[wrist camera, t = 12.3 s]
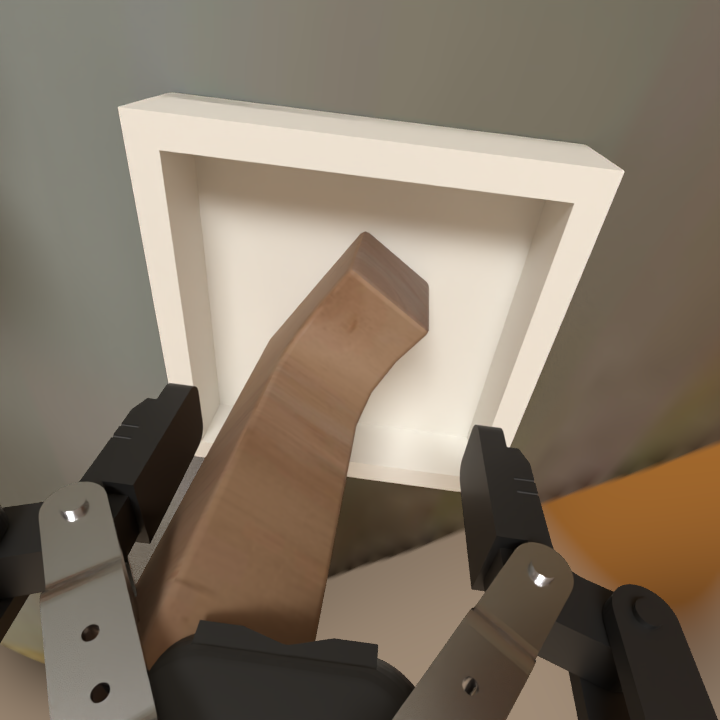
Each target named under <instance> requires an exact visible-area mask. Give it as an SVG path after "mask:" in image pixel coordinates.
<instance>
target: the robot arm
mask: <svg viewBox="0 0 720 720" xmlns="http://www.w3.org/2000/svg"><path fill="white" fill-rule="evenodd" d="M202 434H203V420H202V413H201V406H200V398H199V391H198V388H197V387H196V386H190V385H182V384H175V383H169V384H167V385H166V387H165V388H164V389H163V391H162V392H161V394H160V395H159V397H158V398H157V399H150V398H147V399H146V400H144V401H143V402H142V403H140V404H139V405H137V406H136V407H134V408H133V409H132V410H131V411H130V412H129V414H128V415H127V417H126V418H125V419H124V421H123V422H122V425H121V426H119V428H118V429H117V430H116V432H115V433H114V436H113V438H111V439H110V440H109V441H108V443H107V444H106V446H105V447H104V448H103V450H102V451H101V453H100V454H99V455H98V457H97V458H96V459H95V461H94V462H93V464H92V465H91V466H90V468H89V469H88V471H87V472H86V473H85V475H84V476H83V477H82V479H81V480H80V481H79V482H77V483H73V484H69V485H67V486H64V487H62V488H60V489H59V490H57V491H55V492H54V493H53V494H51V495H50V496H49V497H48V498H47V499H46V500H45V502H40V503H34V504H27V505H19V506H12V507H5V508H2V507H1V505H0V643H1V641H2V639H3V638H4V636H5V634H6V633H7V631H8V629H9V628H10V626H11V624H12V623H13V621H14V619H15V618H16V616H17V614H18V613H19V611H20V610H21V608H22V606H23V605H24V603H25V601H26V600H27V598H28V596H29V595H30V594H33V593H39V592H42V593H41V595H40V612H41V623H42V634H43V644H44V655H45V665H46V677H47V688H48V699H49V709H50V720H506V719H507V717H508V715H509V713H510V711H511V709H512V707H513V705H514V704H515V702H516V700H517V698H518V696H519V694H520V692H521V690H522V689H523V687H524V685H525V683H526V681H527V679H528V677H529V675H530V673H531V671H532V669H533V667H534V665H535V662H536V660H535V659H536V657H537V656H539V657H541V658H543V659H545V660H548V661H550V662H551V663H553V664H555V665H557V666H560V667H561V668H563V669H565V670H567V671H569V675H570V681H571V685H572V691H573V696H574V701H575V706H576V711H577V716H578V720H718V719H717V716H716V714H715V711H714V709H713V706H712V704H711V701H710V699H709V696H708V694H707V691H706V689H705V686H704V684H703V681H702V678H701V676H700V673H699V671H698V668H697V666H696V663H695V661H694V658H693V656H692V654H691V651H690V648H689V646H688V643H687V641H686V638H685V636H684V633H683V631H682V628H681V626H680V623H679V621H678V619H677V617H676V615H675V614H674V612H673V611H672V609H671V608H670V607H669V606H668V604H667V603H665V601H664V600H662V599H661V598H660V597H659V596H657V595H656V594H655V593H653V592H652V591H650V590H648V589H646V588H644V587H641V586H637V585H631V584H628V585H622V586H620V587H618V588H617V589H616V590H615V591H614V592H613V591H611V590H608V589H606V588H604V587H601V586H599V585H597V584H595V583H592V582H590V581H588V580H586V579H584V578H582V577H580V576H578V575H577V574H575V573H574V572H572V571H571V569H570V567H569V565H568V563H567V562H566V561H565V559H564V558H563V557H562V556H561V555H560V554H559V553H557V552H556V551H555V550H554V549H553V546H552V543H551V539H550V536H549V532H548V528H547V525H546V521H545V517H544V514H543V510H542V506H541V503H540V499H539V496H538V495H537V494H538V492H537V488H536V485H535V483H534V477H533V474H532V470H531V466H530V463H529V462H528V461H527V459H526V458H525V457H524V455H523V454H522V453H521V451H520V450H519V449H517V448H510V447H507V445H506V441H505V436H504V432H503V430H502V428H498V427H490V426H483V425H474V426H473V428H472V431H471V434H470V437H469V440H468V443H467V446H466V449H465V452H464V455H463V458H462V461H461V466H460V489H461V498H462V507H463V516H464V525H465V534H466V543H467V552H468V561H469V570H470V579H471V588H472V589H473V590H480V591H485V593H484V595H483V596H482V598H481V599H480V601H479V602H478V603H477V605H476V606H475V607H474V608H472V609H471V610H470V611H469V612H468V613H467V615H466V616H465V618H464V619H463V620H462V622H461V623H460V625H459V626H458V627H457V629H456V630H455V632H454V633H453V634H452V636H451V637H450V639H449V640H448V642H447V643H446V644H445V646H444V647H443V649H442V650H441V651H440V653H439V654H438V656H437V657H436V659H435V660H434V661H433V663H432V664H431V666H430V667H429V669H428V670H427V671H426V673H425V674H424V675H423V677H422V678H421V680H420V681H419V683H418V684H417V685H416V687H414V685H413V684H412V683H411V682H410V681H409V680H408V679H407V678H406V677H405V676H404V675H403V674H402V673H401V672H400V671H398V670H397V669H396V668H395V667H393V666H391V665H390V664H388V663H387V662H385V661H383V660H380V659H378V658H377V653H378V645H377V644H370V643H363V642H356V641H348V640H341V639H327V640H320V641H313V642H306V643H299V644H293V645H285V644H282V643H280V642H278V641H275V640H273V639H271V638H269V637H267V636H264V635H262V634H260V633H258V632H256V631H254V630H251V629H249V628H247V627H245V626H241V625H233V624H226V623H219V622H212V621H205V620H200V621H199V624H198V627H197V630H196V632H195V634H192V635H189V636H187V637H185V638H182V639H180V640H179V641H177V642H176V643H174V644H173V645H171V646H170V647H169V648H168V649H167V650H166V651H165V652H164V653H163V654H162V655H161V656H160V657H159V658H158V659H157V661H156V662H155V663H154V665H153V666H152V667H151V669H150V671H149V669H148V665H147V660H146V656H145V652H144V648H143V644H142V640H141V635H140V631H139V627H138V622H139V621H140V618H139V608H138V603H137V601H136V596H137V588H136V584H135V580H134V576H133V572H132V568H131V564H130V560H129V557H128V554H129V552H130V551H131V549H132V547H133V545H134V543H135V542H141V543H149V544H150V543H151V541H152V539H153V537H154V535H155V533H156V531H157V529H158V527H159V525H160V523H161V521H162V519H163V517H164V515H165V513H166V511H167V509H168V507H169V505H170V503H171V501H172V499H173V497H174V495H175V493H176V491H177V489H178V487H179V485H180V483H181V481H182V479H183V477H184V475H185V473H186V471H187V469H188V467H189V465H190V463H191V461H192V459H193V457H194V455H195V453H196V451H197V449H198V447H199V445H200V442H201V439H202Z"/></svg>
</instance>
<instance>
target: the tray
mask: <svg viewBox="0 0 720 720" xmlns="http://www.w3.org/2000/svg"><path fill="white" fill-rule="evenodd" d="M118 110H119V116H120V121H121V127H122V132H123V138H124V143H125V148H126V154H127V159H128V165H129V170H130V176H131V181H132V187H133V192H134V197H135V203H136V208H137V214H138V219H139V225H140V230H141V236H142V241H143V246H144V252H145V257H146V263H147V268H148V274H149V279H150V284H151V290H152V295H153V301H154V306H155V312H156V317H157V323H158V328H159V333H160V339H161V344H162V350H163V355H164V361H165V366H166V371H167V377H168V382H169V383H175V384H182V385H190V386H196V387H197V388H198V391H199V398H200V406H201V413H202V420H203V434H202V439H201V442H200V445H199V447H198V449H197V451H196V453H195V455H194V456H199V457H206V456H207V454H208V452H209V450H210V448H211V446H212V445H213V443H214V441H215V439H216V437H217V435H218V434H219V432H220V430H221V428H222V426H223V424H224V423H225V421H226V419H227V417H228V415H229V413H230V412H231V410H232V408H233V406H234V404H235V402H236V401H237V399H238V397H239V395H240V393H241V391H242V390H243V388H244V386H245V384H246V382H247V380H248V379H249V377H250V375H251V373H252V371H253V370H254V368H255V366H256V364H257V362H258V360H259V359H260V357H261V355H262V353H263V351H264V349H265V348H266V346H267V344H268V342H269V340H270V339H271V338H272V336H273V335H274V334H275V333H276V332H277V331H278V329H279V328H280V327H281V326H282V325H283V324H284V322H285V321H286V320H287V319H288V318H289V317H290V315H291V314H292V313H293V312H294V311H295V310H296V308H297V307H298V306H299V305H300V304H301V303H302V301H303V300H304V299H305V298H306V297H307V295H308V294H309V293H310V292H311V291H312V290H313V288H314V287H315V286H316V285H317V284H318V283H319V281H320V280H321V279H322V278H323V277H324V276H325V274H326V273H327V272H328V271H329V270H330V269H331V267H332V266H333V265H334V264H335V263H336V262H337V260H338V259H339V258H340V257H341V256H342V255H343V253H344V252H345V251H346V250H347V249H348V248H349V246H350V245H351V244H352V243H353V242H354V241H355V239H356V238H357V237H358V236H359V235H360V234H361V233H363V232H365V231H366V232H368V233H370V234H371V235H372V236H374V237H375V238H376V239H377V240H378V241H379V242H381V243H382V244H383V245H384V246H385V247H386V248H388V249H389V250H390V251H391V252H392V253H393V254H395V255H396V256H397V257H398V258H399V259H400V260H402V261H403V262H404V263H405V264H406V265H407V266H409V267H410V268H411V269H412V270H413V271H414V272H416V273H417V274H418V275H419V276H420V277H421V278H423V279H424V280H425V281H426V282H427V283H428V285H429V331H428V333H427V335H426V336H425V337H424V338H422V339H421V340H420V341H419V342H418V343H417V344H416V345H415V346H414V347H412V348H411V349H410V350H409V351H408V352H407V353H406V354H405V355H404V356H402V357H401V358H400V359H399V360H398V361H397V362H396V363H395V364H394V365H393V367H392V368H391V369H390V370H389V372H388V373H387V374H386V375H385V377H384V378H383V379H382V380H381V382H380V383H379V384H378V385H377V387H376V388H375V389H374V390H373V392H372V393H371V395H370V397H369V399H368V402H367V404H366V406H365V408H364V410H363V413H362V415H361V417H360V419H359V421H358V423H357V426H356V431H355V436H354V442H353V447H352V452H351V457H350V462H349V468H348V473H347V477H354V478H361V479H369V480H376V481H383V482H391V483H398V484H406V485H413V486H420V487H428V488H435V489H443V490H450V491H457V492H461V489H460V466H461V461H462V458H463V455H464V452H465V449H466V446H467V443H468V440H469V437H470V434H471V431H472V428H473V426H474V425H483V426H490V427H498V428H502V430H503V432H504V436H505V441H506V445H507V447H510V445H511V443H512V440H513V438H514V436H515V433H516V431H517V428H518V426H519V424H520V421H521V419H522V416H523V414H524V412H525V409H526V407H527V404H528V402H529V400H530V397H531V395H532V392H533V390H534V388H535V385H536V383H537V380H538V378H539V376H540V373H541V371H542V368H543V366H544V364H545V361H546V359H547V356H548V354H549V352H550V349H551V347H552V344H553V342H554V340H555V337H556V335H557V332H558V330H559V328H560V325H561V323H562V320H563V318H564V316H565V313H566V311H567V308H568V306H569V304H570V301H571V299H572V296H573V294H574V292H575V289H576V287H577V284H578V282H579V280H580V277H581V275H582V272H583V270H584V268H585V265H586V263H587V260H588V258H589V256H590V253H591V251H592V248H593V246H594V244H595V241H596V239H597V236H598V234H599V232H600V229H601V227H602V224H603V222H604V220H605V217H606V215H607V212H608V210H609V208H610V205H611V203H612V200H613V198H614V196H615V193H616V191H617V188H618V186H619V184H620V181H621V179H622V176H623V174H624V172H625V171H624V170H622V169H621V168H619V167H618V166H616V165H615V164H613V163H612V162H610V161H609V160H607V159H606V158H604V157H603V156H602V155H600V154H599V153H597V152H596V151H594V150H593V149H591V148H590V147H588V146H587V145H585V144H577V143H569V142H561V141H553V140H545V139H538V138H530V137H522V136H514V135H506V134H498V133H490V132H482V131H474V130H466V129H458V128H451V127H443V126H435V125H427V124H419V123H411V122H403V121H395V120H387V119H379V118H371V117H363V116H356V115H348V114H340V113H332V112H324V111H316V110H308V109H300V108H292V107H284V106H276V105H269V104H261V103H253V102H245V101H237V100H229V99H221V98H213V97H205V96H197V95H189V94H181V93H174V92H169V93H166V94H162V95H159V96H155V97H151V98H148V99H144V100H141V101H137V102H133V103H130V104H126V105H123V106H119V107H118Z"/></svg>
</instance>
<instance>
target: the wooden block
mask: <svg viewBox="0 0 720 720" xmlns="http://www.w3.org/2000/svg"><path fill="white" fill-rule="evenodd" d="M428 331H429V285H428V283H427V282H426V281H425V280H424V279H423V278H421V277H420V276H419V275H418V274H417V273H416V272H414V271H413V270H412V269H411V268H410V267H409V266H407V265H406V264H405V263H404V262H403V261H402V260H400V259H399V258H398V257H397V256H396V255H395V254H393V253H392V252H391V251H390V250H389V249H388V248H386V247H385V246H384V245H383V244H382V243H381V242H379V241H378V240H377V239H376V238H375V237H374V236H372V235H371V234H370V233H368V232H366V231H365V232H363V233H361V234H360V235H359V236H358V237H357V238H356V239H355V241H354V242H353V243H352V244H351V245H350V246H349V248H348V249H347V250H346V251H345V252H344V253H343V255H342V256H341V257H340V258H339V259H338V260H337V262H336V263H335V264H334V265H333V266H332V267H331V269H330V270H329V271H328V272H327V273H326V274H325V276H324V277H323V278H322V279H321V280H320V281H319V283H318V284H317V285H316V286H315V287H314V288H313V290H312V291H311V292H310V293H309V294H308V295H307V297H306V298H305V299H304V300H303V301H302V303H301V304H300V305H299V306H298V307H297V308H296V310H295V311H294V312H293V313H292V314H291V315H290V317H289V318H288V319H287V320H286V321H285V322H284V324H283V325H282V326H281V327H280V328H279V329H278V331H277V332H276V333H275V334H274V335H273V336H272V338H271V339H270V340H269V342H268V344H267V346H266V348H265V349H264V351H263V353H262V355H261V357H260V359H259V360H258V362H257V364H256V366H255V368H254V370H253V371H252V373H251V375H250V377H249V379H248V380H247V382H246V384H245V386H244V388H243V390H242V391H241V393H240V395H239V397H238V399H237V401H236V402H235V404H234V406H233V408H232V410H231V412H230V413H229V415H228V417H227V419H226V421H225V423H224V424H223V426H222V428H221V430H220V432H219V434H218V435H217V437H216V439H215V441H214V443H213V445H212V446H211V448H210V450H209V452H208V454H207V456H206V457H205V459H204V461H203V463H202V465H201V467H200V468H199V470H198V472H197V474H196V476H195V478H194V479H193V481H192V483H191V485H190V487H189V489H188V490H187V492H186V494H185V496H184V498H183V500H182V501H181V503H180V505H179V507H178V509H177V511H176V512H175V514H174V516H173V518H172V520H171V522H170V523H169V525H168V527H167V529H166V531H165V533H164V534H163V536H162V538H161V540H160V542H159V544H158V545H157V547H156V549H155V551H154V553H153V555H152V556H151V558H150V560H149V562H148V564H147V566H146V567H145V569H144V571H143V573H142V575H141V577H140V578H139V580H138V582H137V584H136V588H137V596H136V601H137V603H138V608H139V618H140V621H139V622H138V627H139V631H140V635H141V640H142V644H143V648H144V652H145V656H146V660H147V665H148V669H149V671H150V669H151V667H152V666H153V665H154V663H155V662H156V661H157V659H158V658H159V657H160V656H161V655H162V654H163V653H164V652H165V651H166V650H167V649H168V648H169V647H170V646H171V645H173V644H174V643H176V642H177V641H179V640H180V639H182V638H185V637H187V636H189V635H192V634H195V632H196V630H197V627H198V624H199V621H200V620H205V621H212V622H219V623H226V624H233V625H241V626H245V627H247V628H249V629H251V630H254V631H256V632H258V633H260V634H262V635H264V636H267V637H269V638H271V639H273V640H275V641H278V642H280V643H282V644H285V645H293V644H299V643H306V642H313V641H315V639H316V634H317V629H318V624H319V618H320V613H321V608H322V603H323V597H324V592H325V587H326V582H327V577H328V572H329V566H330V561H331V556H332V551H333V546H334V540H335V535H336V530H337V525H338V520H339V514H340V509H341V504H342V499H343V494H344V488H345V483H346V478H347V473H348V468H349V462H350V457H351V452H352V447H353V442H354V436H355V431H356V426H357V423H358V421H359V419H360V417H361V415H362V413H363V410H364V408H365V406H366V404H367V402H368V399H369V397H370V395H371V393H372V392H373V390H374V389H375V388H376V387H377V385H378V384H379V383H380V382H381V380H382V379H383V378H384V377H385V375H386V374H387V373H388V372H389V370H390V369H391V368H392V367H393V365H394V364H395V363H396V362H397V361H398V360H399V359H400V358H401V357H402V356H404V355H405V354H406V353H407V352H408V351H409V350H410V349H411V348H412V347H414V346H415V345H416V344H417V343H418V342H419V341H420V340H421V339H422V338H424V337H425V336H426V335H427V333H428Z"/></svg>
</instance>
